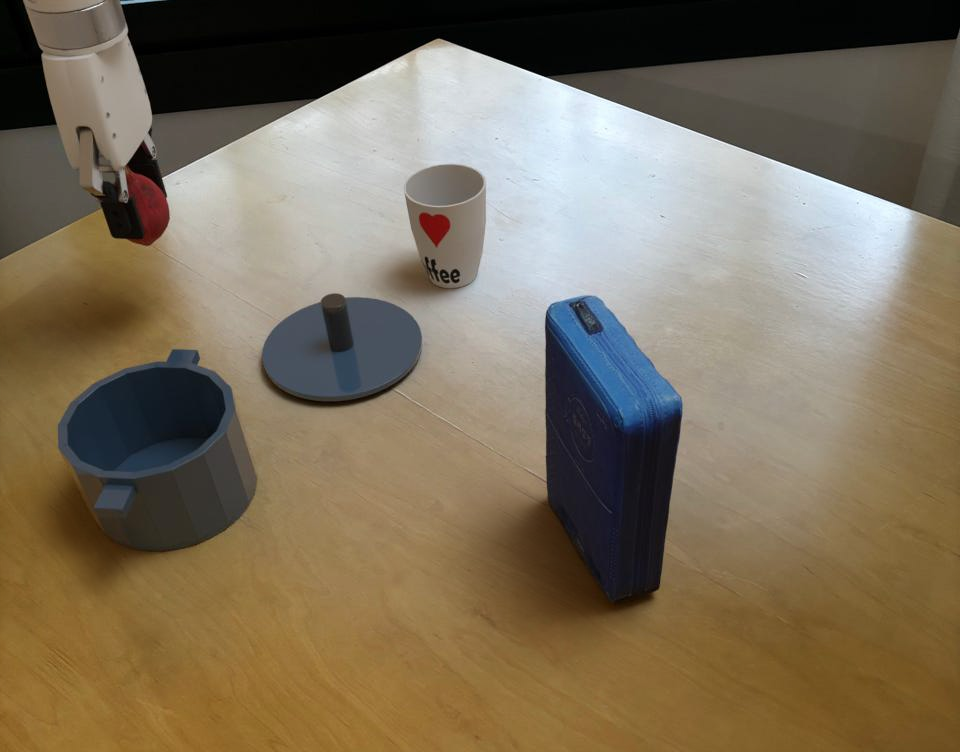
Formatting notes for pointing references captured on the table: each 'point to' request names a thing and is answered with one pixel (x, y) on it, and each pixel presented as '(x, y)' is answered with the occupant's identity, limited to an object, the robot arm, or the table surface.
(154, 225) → the red pomegranate
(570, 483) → the blue case
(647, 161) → the table surface
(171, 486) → the pot
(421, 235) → the cup
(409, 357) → the lid
